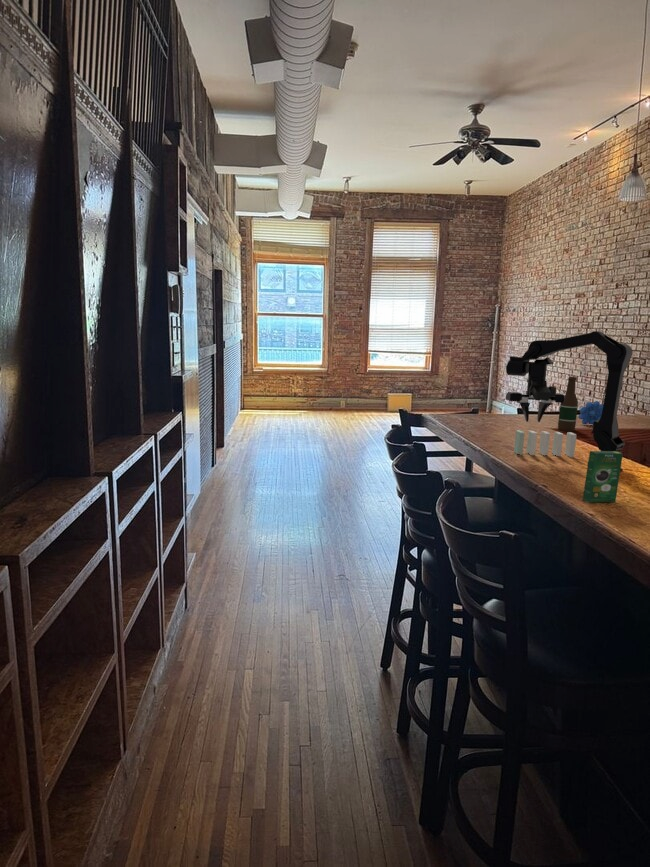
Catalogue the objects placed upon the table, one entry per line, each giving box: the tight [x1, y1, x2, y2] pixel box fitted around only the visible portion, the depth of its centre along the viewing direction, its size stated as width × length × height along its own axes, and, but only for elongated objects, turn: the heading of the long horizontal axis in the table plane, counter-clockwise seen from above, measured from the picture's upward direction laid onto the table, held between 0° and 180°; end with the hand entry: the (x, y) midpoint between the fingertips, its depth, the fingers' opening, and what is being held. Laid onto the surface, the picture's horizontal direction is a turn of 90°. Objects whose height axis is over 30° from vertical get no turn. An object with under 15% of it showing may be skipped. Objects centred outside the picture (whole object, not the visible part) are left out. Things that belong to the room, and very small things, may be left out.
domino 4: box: [551, 431, 564, 457], centre depth 193 cm, size 5×2×8 cm, turn 177°
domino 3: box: [538, 430, 551, 456], centre depth 193 cm, size 5×2×8 cm, turn 177°
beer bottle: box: [557, 376, 579, 432], centre depth 246 cm, size 8×8×24 cm
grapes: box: [578, 400, 603, 425], centre depth 263 cm, size 12×7×12 cm, turn 64°
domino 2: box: [525, 430, 538, 456], centre depth 193 cm, size 5×2×8 cm, turn 177°
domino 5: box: [564, 431, 577, 458], centre depth 192 cm, size 5×2×8 cm, turn 177°
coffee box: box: [582, 450, 624, 504], centre depth 139 cm, size 8×3×13 cm, turn 102°
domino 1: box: [513, 429, 525, 456], centre depth 193 cm, size 5×2×8 cm, turn 177°
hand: (532, 421), depth 191 cm, fingers open, 4 cm apart
